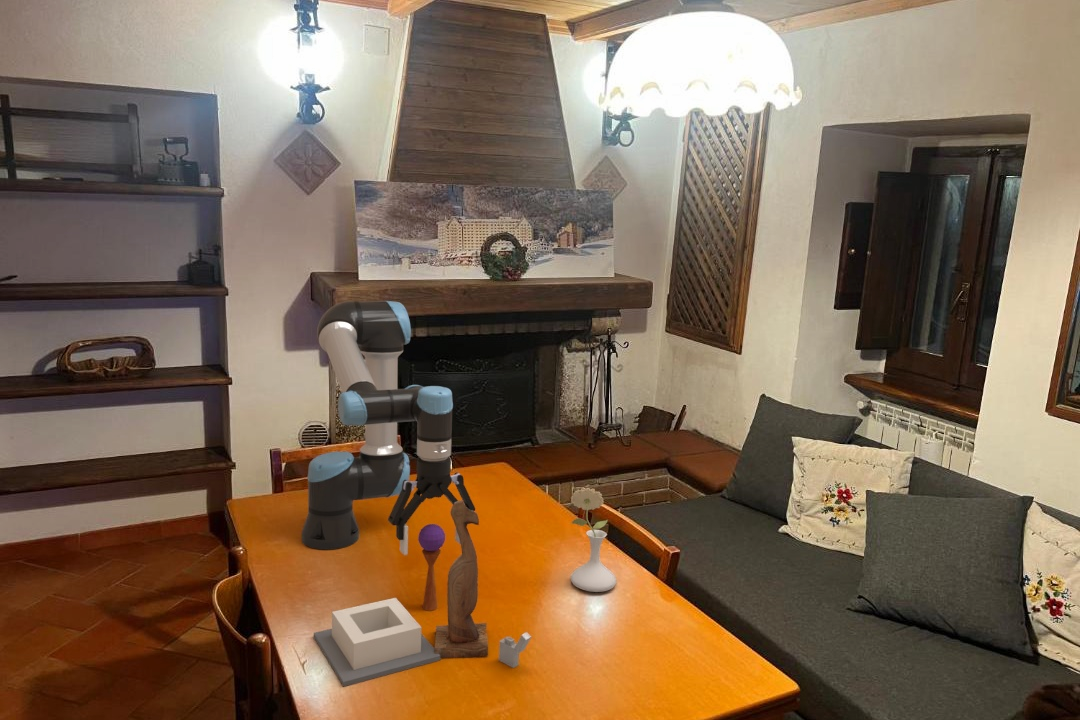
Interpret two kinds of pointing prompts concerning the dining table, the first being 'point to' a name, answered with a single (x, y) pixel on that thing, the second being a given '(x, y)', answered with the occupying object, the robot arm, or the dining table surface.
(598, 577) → the flower in vase
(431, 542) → the kendama
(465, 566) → the bird sculpture
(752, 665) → the dining table surface
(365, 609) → the socket
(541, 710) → the dining table surface
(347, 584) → the dining table surface
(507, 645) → the lighter
